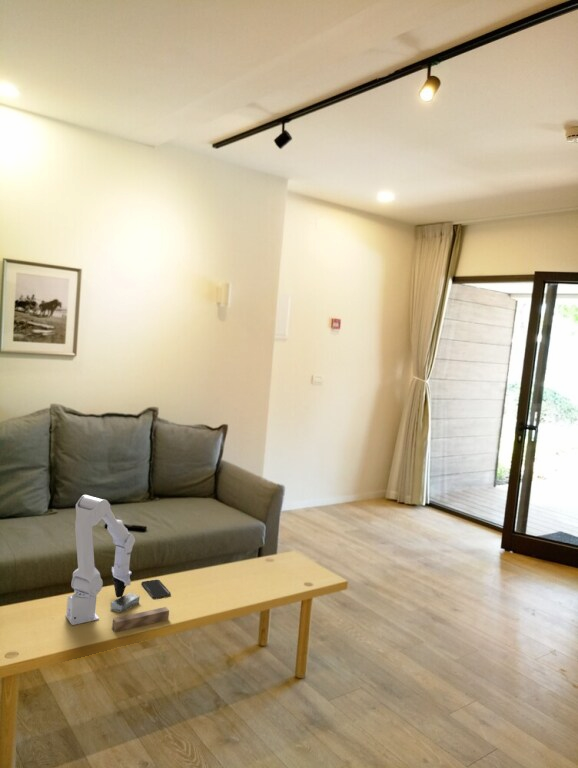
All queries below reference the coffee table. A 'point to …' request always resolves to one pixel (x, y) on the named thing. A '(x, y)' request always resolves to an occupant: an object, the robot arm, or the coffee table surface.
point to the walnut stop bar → (140, 619)
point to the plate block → (125, 602)
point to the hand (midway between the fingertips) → (119, 596)
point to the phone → (155, 589)
